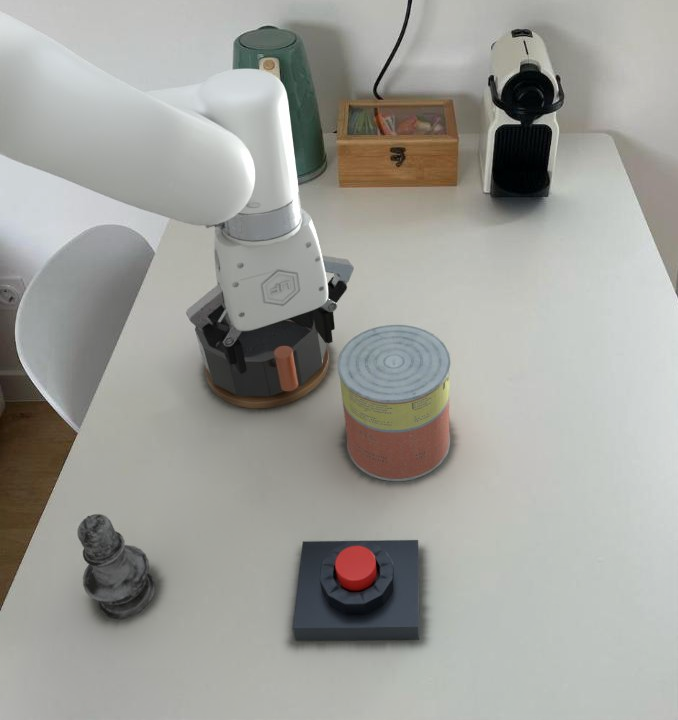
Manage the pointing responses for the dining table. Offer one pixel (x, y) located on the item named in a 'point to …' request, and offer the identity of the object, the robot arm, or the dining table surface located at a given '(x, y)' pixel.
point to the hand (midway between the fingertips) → (282, 350)
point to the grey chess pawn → (114, 569)
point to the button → (356, 568)
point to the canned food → (396, 401)
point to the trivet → (275, 399)
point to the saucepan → (266, 356)
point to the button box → (358, 594)
